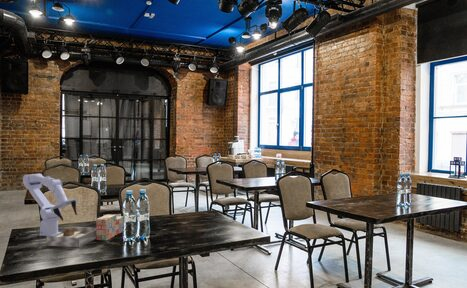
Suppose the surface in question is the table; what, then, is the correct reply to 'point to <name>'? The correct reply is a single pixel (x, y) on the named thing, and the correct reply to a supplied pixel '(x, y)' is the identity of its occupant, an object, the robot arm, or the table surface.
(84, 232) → the board
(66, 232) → the walnut block
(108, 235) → the stack of blocks
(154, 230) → the table surface
